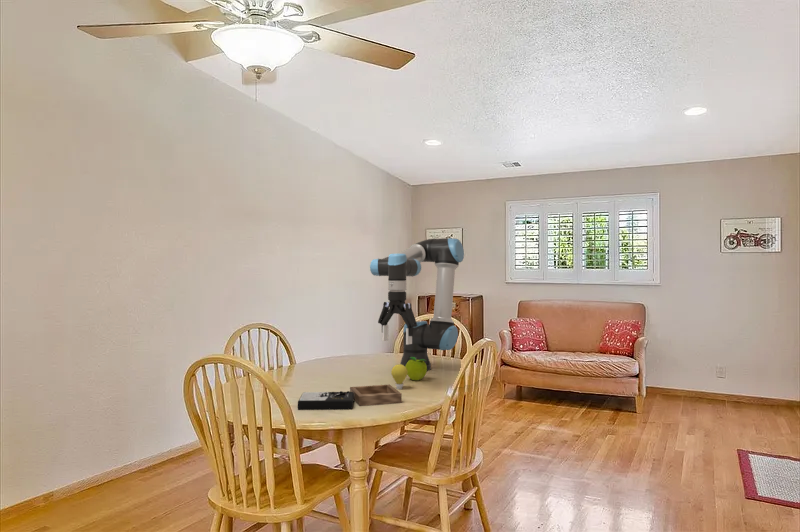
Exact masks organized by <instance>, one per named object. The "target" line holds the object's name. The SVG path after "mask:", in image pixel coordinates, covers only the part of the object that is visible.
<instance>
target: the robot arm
mask: <svg viewBox="0 0 800 532" xmlns="http://www.w3.org/2000/svg"><path fill="white" fill-rule="evenodd" d="M464 257H465V251H464V246H463V243H462V241H461V240H459V239H458V238H453V237H449V238H448V237H446V238H428V239H424V240H421V241H419V242H416V243H413V244H411V245H410V246H409V248H406V249H404V250H401V251H399V252H396V253H390V254H389V255H388V256H387V257H386V256H385V257H384V258H374V259H372V260H371V262H370V264H369V268H370V269H369V271H370V273H371V274H372V275H373V276H375V277H387V278H388V282H387V284H388V285H387V286H388V287H387V289H388V292H387V299H388V301H384V302H383V305H382V306H383V307H382V309H381V313H380V315H379V318H378V321H377V323H378V324H380V326H381V333H382V342H387V341H388V342H389V324H388V323H389V322H390V320H391V319H392V317H393V315H394V314H397V315H399V316H401V318H402V320H403V322H404V325H403V331H402V333H403V337H402V338H403V352H402V356H401V360H400V362H399V364H401V365H404V366H406V364H407V362H408V361H409V360H411V359H412V358H409V357H415V358H416V359H417V360H420V359H424V360H423V361H424V362H425V363H426V366H427V371H430V370H431V369H432V367H431V366H432V365H431V360H430V357H429V356H428V349H429V350H437V351H438V350H440V351H451V350H452V349H454V347H455V345H456V344H457V341H458V338H459V337H458V336H459V331H458V330H459V329H458V328H457V326H456V325H454V324H455V322H454V321H453V319H452V313H453V300H454V299H453V298H454V286H455V278H456V277H455V276H456V275H455V274H456V270H457V269H458V268H459V265H460V264H461V262H463V261H464ZM421 263H434V267H436V281H435V282H436V283H435V295H434V306H433V307H434V308H433V317H432V318H431V319H430V320H429V324H428V321H427V320H419V321H417V320H416V317H415V314H414V312H413V308H412V303H409V302H407V303H406V301H407V277H416V276H418V275H419V274H420V273H421V271H422V264H421ZM459 263H460V264H459ZM425 360H426V361H425Z"/></svg>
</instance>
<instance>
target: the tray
mask: <svg viewBox="0 0 800 532" xmlns="http://www.w3.org/2000/svg"><path fill="white" fill-rule="evenodd" d="M349 391H350V392H353V393H354V401H353V402H355V403H356V404H357V405H358V406H359V407H364V406H374V405H375V406H376V405H377V406H379V405H389V404H390V405H391V404H401V403H402V402H403V401H402V400H403V399H402V396H403V395H402V393H401V392H400V391H399V389H397V388H395V386H393V385H391V384H389V383H387V384H375V385H362V386H358V385H357V386H349Z"/></svg>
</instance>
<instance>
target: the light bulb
mask: <svg viewBox="0 0 800 532" xmlns="http://www.w3.org/2000/svg"><path fill="white" fill-rule="evenodd" d="M407 373H408V372H407V369H406V367H405V366H404V365H401V364H400V363H399V364H395V365H394V366H393V367H392V369H391V376H392V378H393V380H394V381H395V386H394V387H396V390H403V387H404V383H403V382H404V381H405V379H407V376H408V375H407Z"/></svg>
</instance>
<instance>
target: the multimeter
mask: <svg viewBox="0 0 800 532" xmlns="http://www.w3.org/2000/svg"><path fill="white" fill-rule="evenodd" d="M354 402H355V401H354V393H353V392H350V390H349V391H348V390H347V391H307V392H306V391H304V392H302V394H301V396H300V397H299V399H298V400H297V410H298V411H323V410H324V411H327V410H328V411H333V410H334V411H338V410H339V411H344V410H348V411H349V410H353V406H354Z"/></svg>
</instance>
